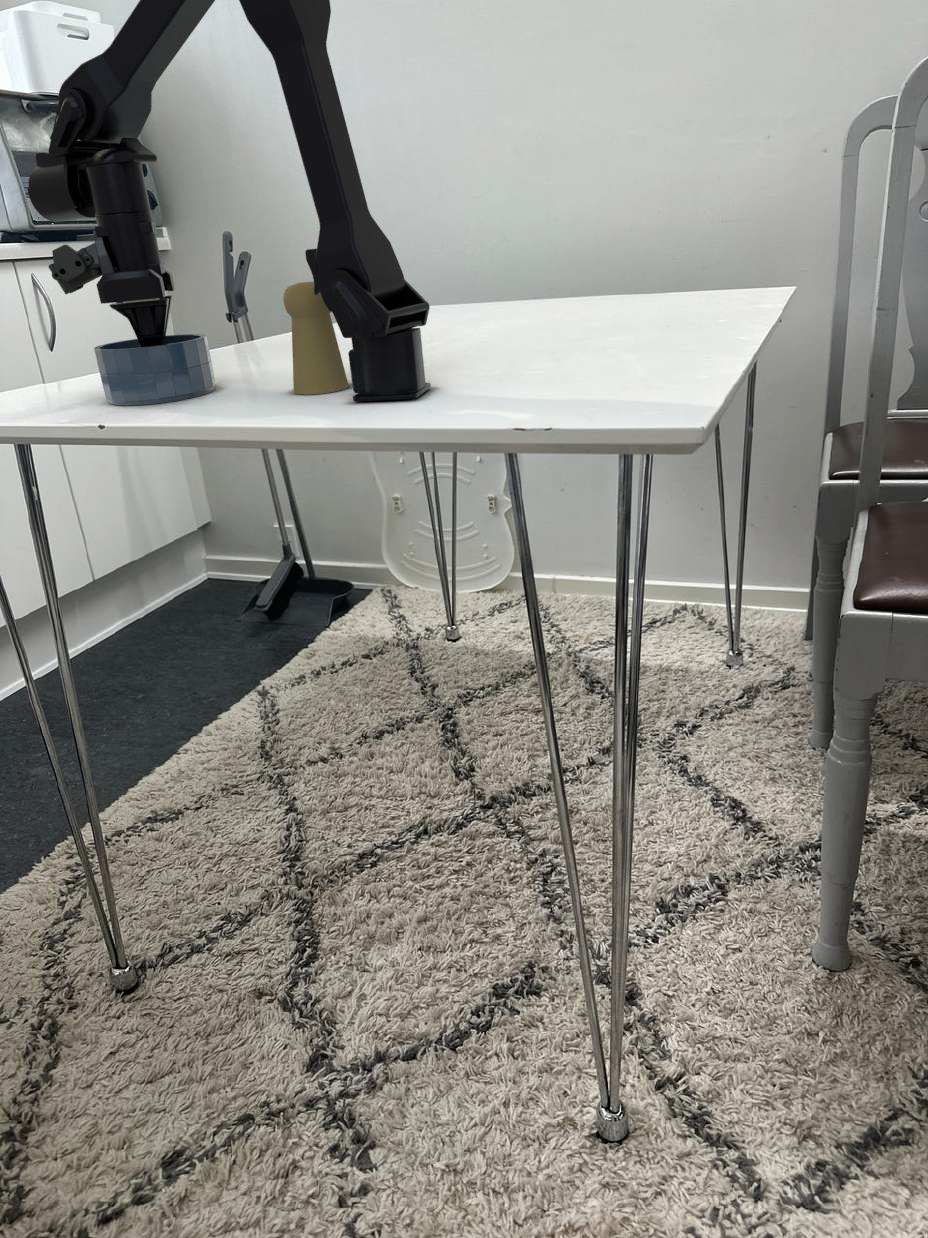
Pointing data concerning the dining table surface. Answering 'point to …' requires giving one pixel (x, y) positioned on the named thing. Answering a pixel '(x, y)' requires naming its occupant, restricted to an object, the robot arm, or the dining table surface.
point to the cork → (313, 343)
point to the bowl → (155, 370)
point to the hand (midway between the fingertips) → (155, 364)
